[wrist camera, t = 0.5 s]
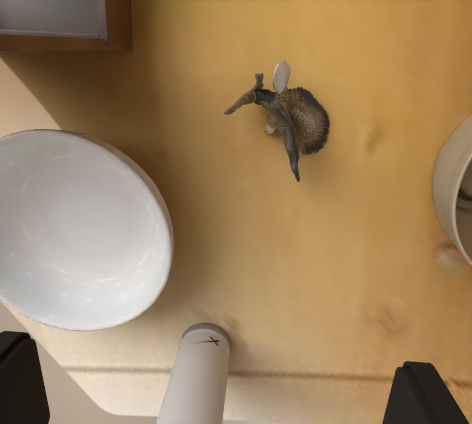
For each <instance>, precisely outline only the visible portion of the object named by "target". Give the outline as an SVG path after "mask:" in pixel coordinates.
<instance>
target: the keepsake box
mask: <svg viewBox="0 0 472 424" xmlns="http://www.w3.org/2000/svg"><path fill="white" fill-rule="evenodd" d="M0 33H13V34H30V35H48V36H66V37H84V38H102V39H105V43H106V49H108V50H125V51H132V28H131V5H130V0H0Z"/></svg>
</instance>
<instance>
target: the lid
mask: <svg viewBox="0 0 472 424" xmlns="http://www.w3.org/2000/svg"><path fill="white" fill-rule="evenodd" d="M85 50H106V43H105V39H102V38H84V37H66V36H48V35H30V34H13V33H0V53H4V52H45V51H85Z"/></svg>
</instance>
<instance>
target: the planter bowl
mask: <svg viewBox="0 0 472 424" xmlns="http://www.w3.org/2000/svg"><path fill="white" fill-rule="evenodd" d="M432 197H433V203H434V207H435V211H436V214H437V217H438V219H439V222H440V224H441V226H442V228H443V229H444V231H445V233H446V234H447V236H448V237H449V239H450V240H451V241H452V243H453V244H454V245H455V246H456V247H457V248H458V250H459V251H460V253H461V254H462V255H463V257H464V258H465V259H466V261H467V262H468V263H469V264H470V265H471V266H472V115H471V116H470V117H469V118H467V119H466V120H465V121H464V122H463V123H462V124H461V125H460V126H459V127H458V128H457V129H456V130H455V131H454V132H453V133H452V134H451V136H450V137H449V138H448V139H447V141H446V142H445V143H444V145H443V146H442V148H441V150H440V152H439V154H438V157H437V160H436V163H435V167H434V171H433V177H432Z"/></svg>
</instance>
